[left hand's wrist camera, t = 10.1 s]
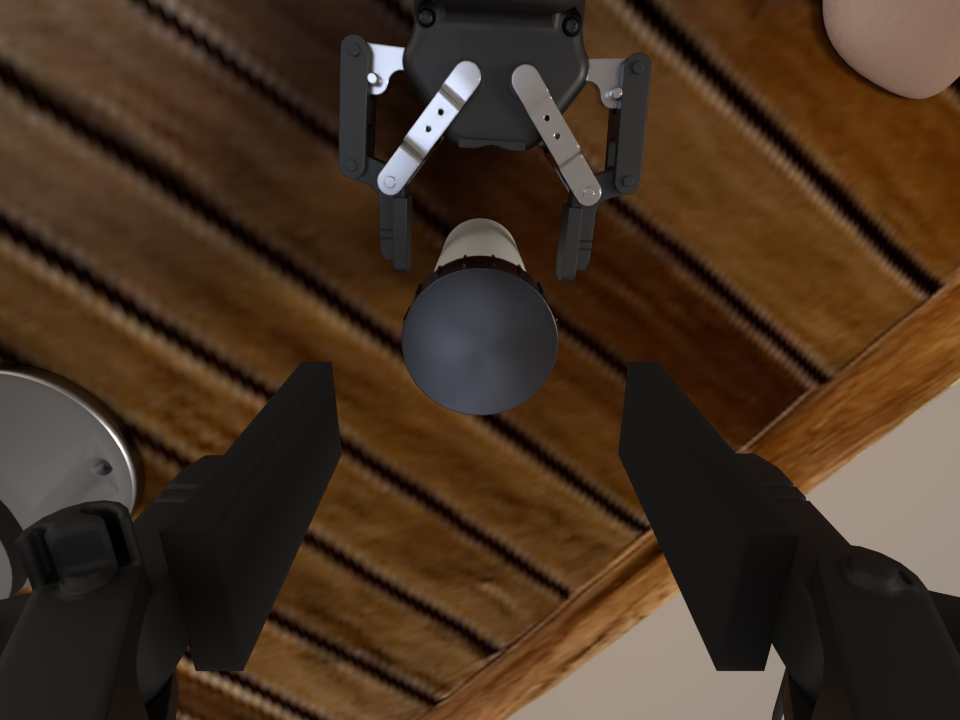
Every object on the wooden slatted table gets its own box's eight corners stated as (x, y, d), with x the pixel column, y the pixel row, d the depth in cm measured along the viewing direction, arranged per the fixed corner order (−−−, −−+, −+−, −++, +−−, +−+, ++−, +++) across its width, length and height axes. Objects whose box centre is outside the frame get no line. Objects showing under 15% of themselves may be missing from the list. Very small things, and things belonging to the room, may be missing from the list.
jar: (435, 226, 34) (398, 289, 18) (510, 211, 33) (535, 262, 18) (451, 299, 35) (429, 412, 20) (523, 285, 35) (556, 389, 20)
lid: (391, 268, 20) (381, 283, 18) (540, 239, 20) (547, 250, 17) (426, 401, 22) (420, 428, 20) (561, 376, 22) (570, 402, 19)
